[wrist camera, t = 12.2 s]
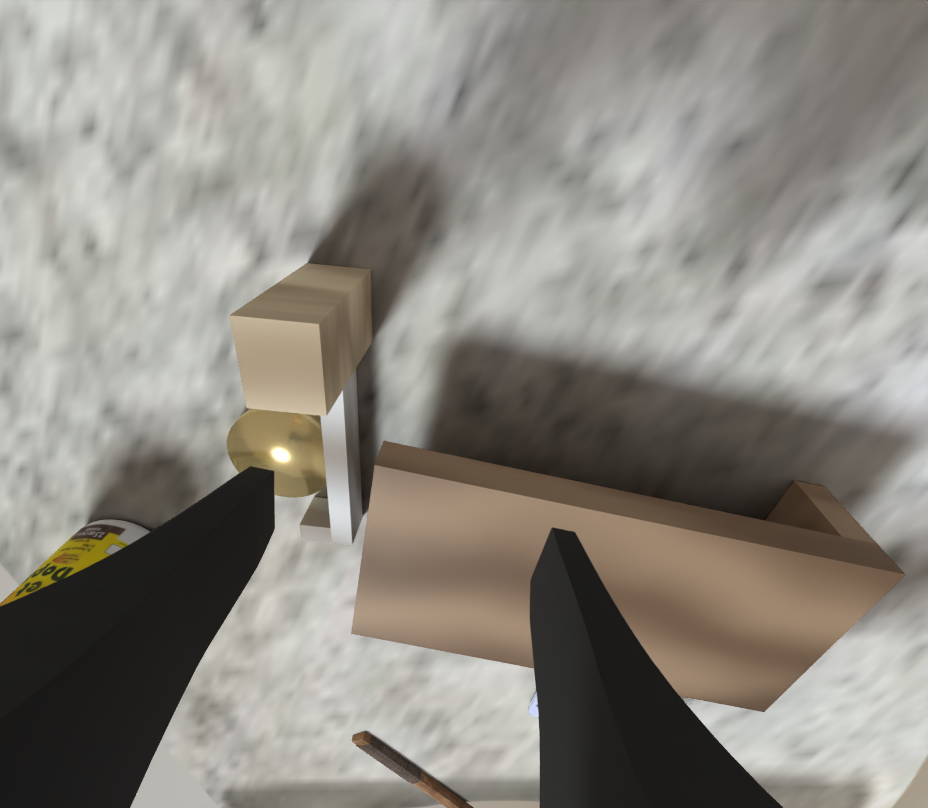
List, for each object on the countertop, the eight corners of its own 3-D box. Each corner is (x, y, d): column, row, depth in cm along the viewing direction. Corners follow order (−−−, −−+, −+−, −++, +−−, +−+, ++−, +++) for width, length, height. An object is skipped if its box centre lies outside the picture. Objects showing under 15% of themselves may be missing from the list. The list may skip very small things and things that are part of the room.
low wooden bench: (721, 618, 27) (763, 711, 22) (376, 549, 26) (351, 633, 22) (825, 486, 22) (904, 574, 17) (400, 396, 21) (374, 464, 17)
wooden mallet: (376, 517, 25) (343, 620, 20) (315, 511, 25) (266, 611, 20) (370, 269, 18) (318, 323, 13) (287, 261, 18) (203, 312, 13)
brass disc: (326, 394, 21) (317, 407, 20) (351, 479, 24) (344, 495, 23) (224, 400, 22) (210, 414, 21) (258, 483, 24) (248, 499, 23)
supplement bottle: (123, 500, 25) (-79, 697, 16) (199, 564, 28) (57, 768, 19) (62, 534, 27) (-151, 729, 18) (138, 592, 29) (-18, 790, 20)
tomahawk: (310, 733, 39) (303, 751, 38) (371, 724, 36) (365, 744, 35) (447, 825, 47) (444, 843, 46) (508, 824, 43) (507, 843, 42)
